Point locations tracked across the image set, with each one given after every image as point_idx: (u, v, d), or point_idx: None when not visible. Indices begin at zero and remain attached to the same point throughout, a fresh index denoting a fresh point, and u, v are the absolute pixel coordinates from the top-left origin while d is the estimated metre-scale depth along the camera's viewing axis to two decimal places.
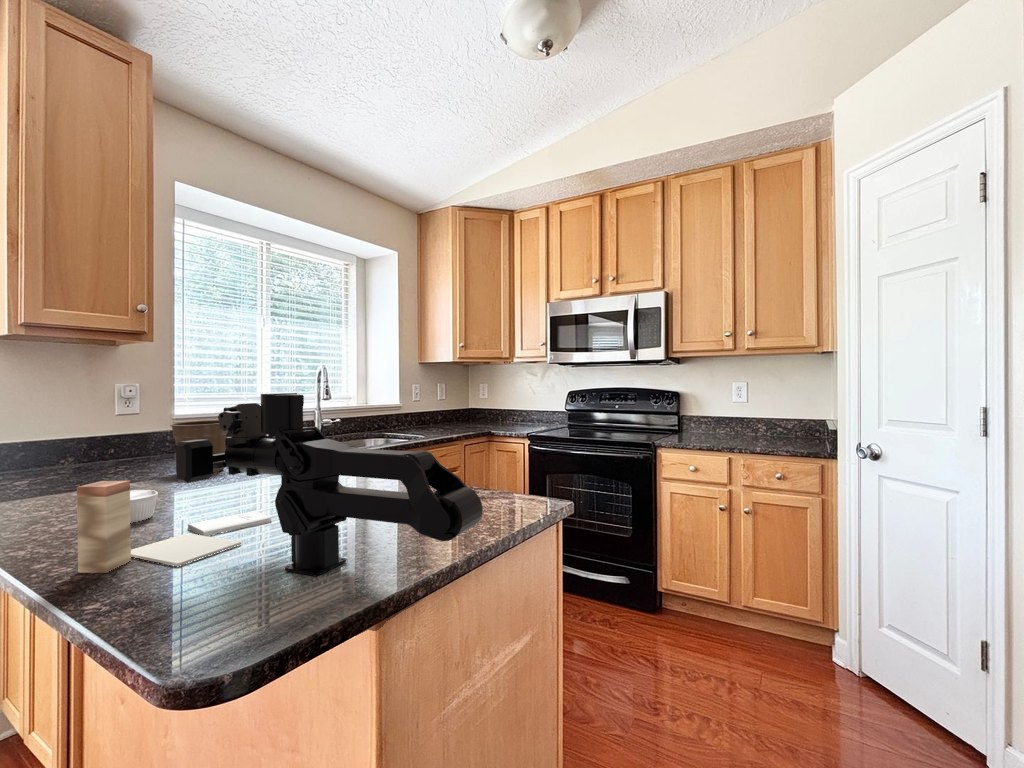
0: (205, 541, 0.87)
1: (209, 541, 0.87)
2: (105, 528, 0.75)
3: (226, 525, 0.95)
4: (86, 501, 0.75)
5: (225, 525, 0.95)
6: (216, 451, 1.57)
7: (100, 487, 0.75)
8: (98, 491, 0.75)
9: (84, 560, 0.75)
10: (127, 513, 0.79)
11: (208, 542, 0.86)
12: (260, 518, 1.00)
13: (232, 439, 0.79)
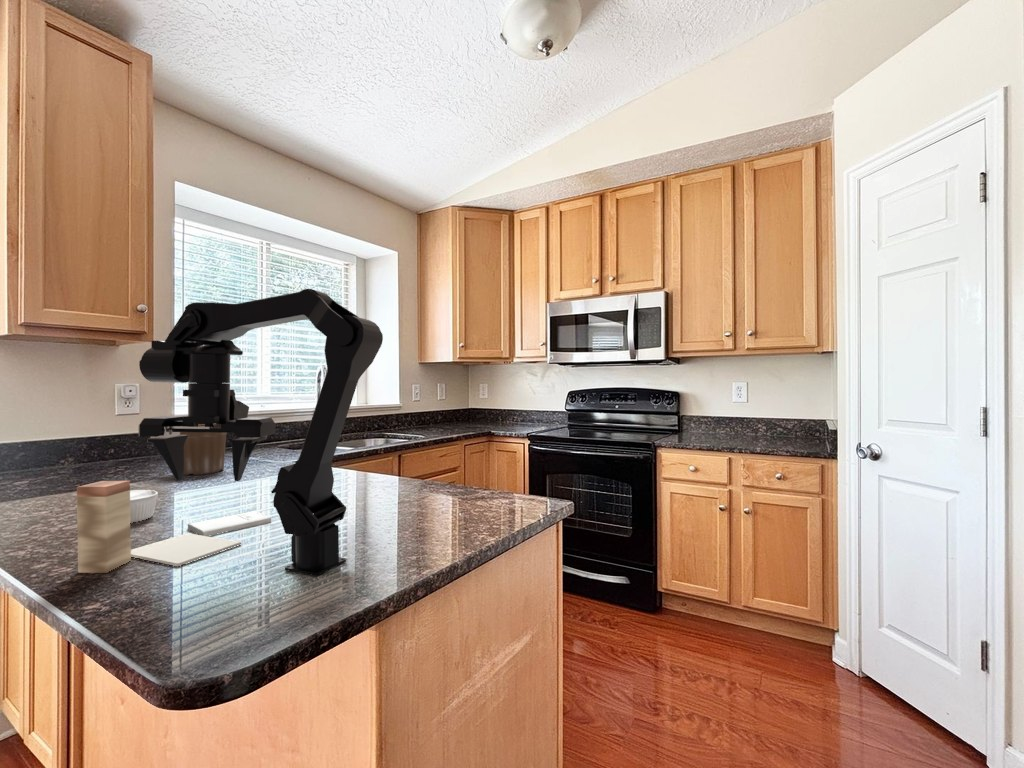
0: (205, 541, 0.87)
1: (209, 541, 0.87)
2: (105, 528, 0.75)
3: (226, 525, 0.95)
4: (86, 501, 0.75)
5: (225, 525, 0.95)
6: (216, 451, 1.57)
7: (100, 487, 0.75)
8: (98, 491, 0.75)
9: (84, 560, 0.75)
10: (127, 513, 0.79)
11: (208, 542, 0.86)
12: (260, 518, 1.00)
13: None
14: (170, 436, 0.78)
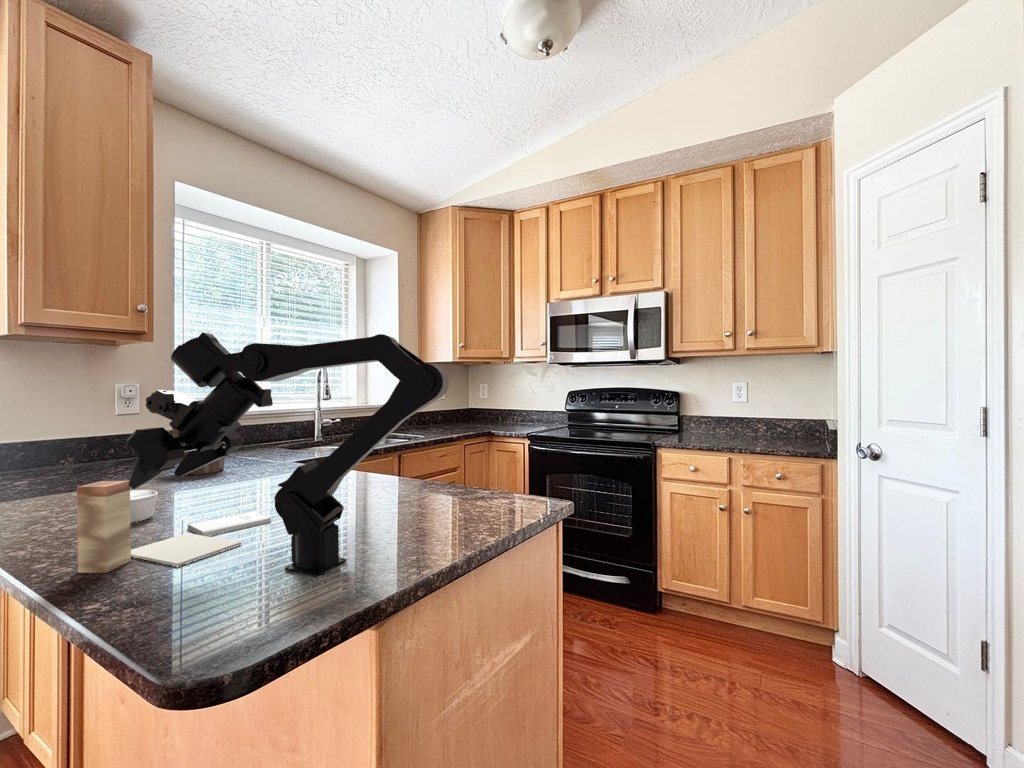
0: (205, 541, 0.87)
1: (209, 541, 0.87)
2: (105, 528, 0.75)
3: (226, 525, 0.95)
4: (86, 501, 0.75)
5: (225, 525, 0.95)
6: None
7: (100, 487, 0.75)
8: (98, 491, 0.75)
9: (84, 560, 0.75)
10: (127, 513, 0.79)
11: (208, 542, 0.86)
12: (260, 518, 1.00)
13: (177, 417, 0.74)
14: None
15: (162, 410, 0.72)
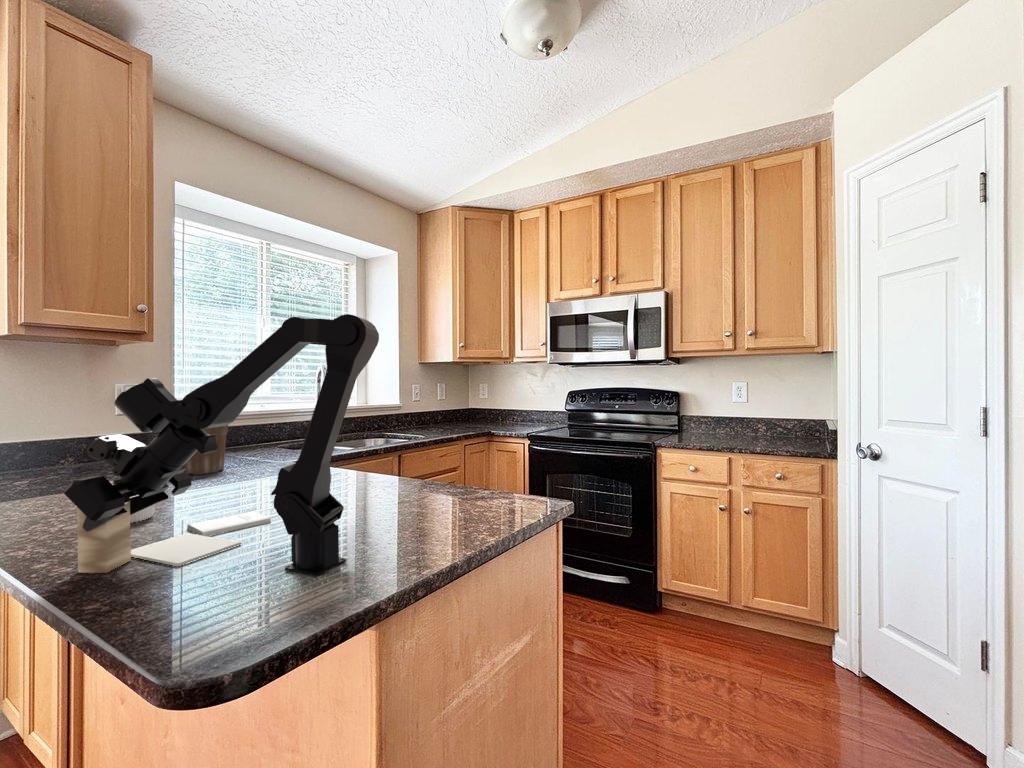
0: (205, 541, 0.87)
1: (209, 541, 0.87)
2: (105, 528, 0.75)
3: (225, 525, 0.95)
4: None
5: (224, 525, 0.95)
6: (216, 451, 1.58)
7: None
8: None
9: (84, 560, 0.75)
10: (127, 513, 0.79)
11: (208, 542, 0.86)
12: (259, 518, 1.00)
13: (119, 463, 0.74)
14: None
15: (103, 457, 0.73)
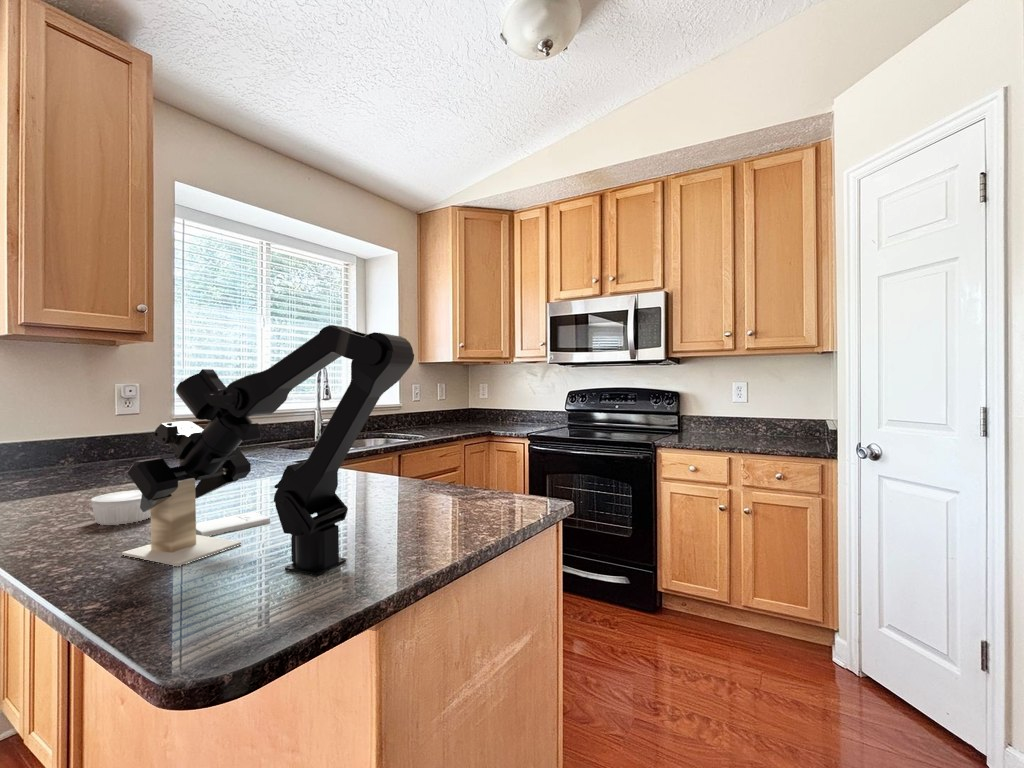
0: (205, 541, 0.87)
1: (209, 541, 0.87)
2: (170, 512, 0.81)
3: (224, 526, 0.95)
4: None
5: (223, 526, 0.95)
6: None
7: None
8: None
9: (155, 540, 0.82)
10: (193, 499, 0.85)
11: (208, 542, 0.86)
12: (259, 519, 1.00)
13: (179, 447, 0.80)
14: None
15: (165, 442, 0.79)
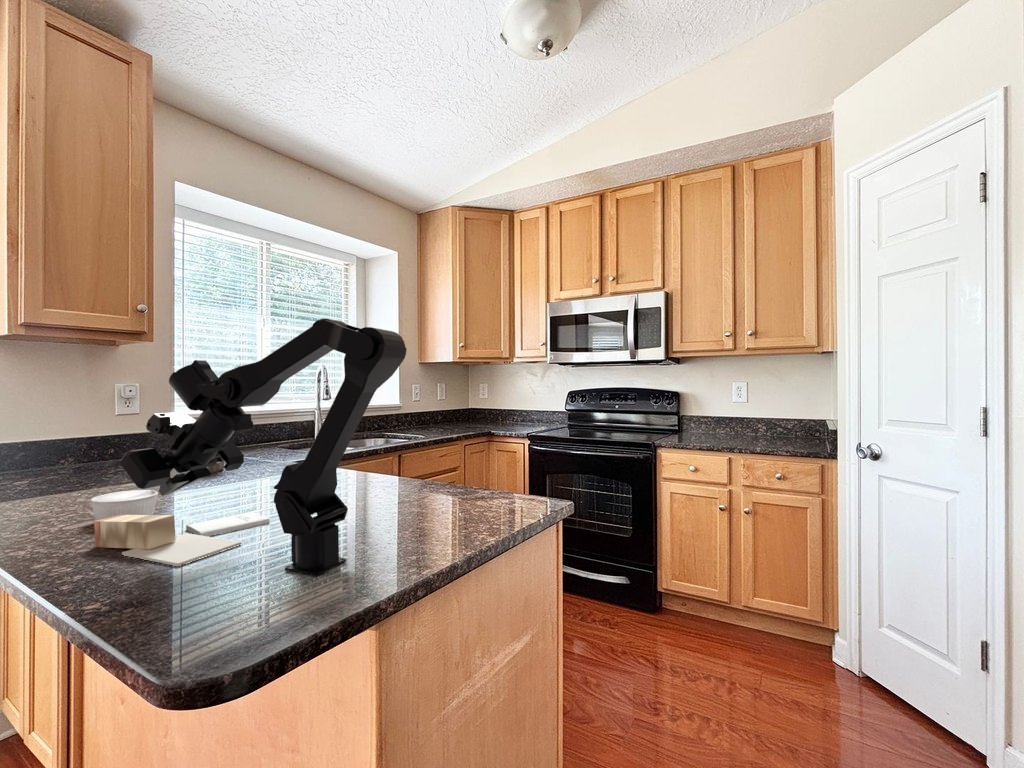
0: (205, 541, 0.87)
1: (209, 541, 0.87)
2: (120, 522, 0.85)
3: (224, 526, 0.95)
4: (103, 538, 0.86)
5: (223, 526, 0.95)
6: None
7: (95, 526, 0.87)
8: (97, 527, 0.86)
9: (142, 542, 0.83)
10: (139, 515, 0.89)
11: (208, 542, 0.86)
12: (258, 519, 1.00)
13: (171, 438, 0.80)
14: None
15: (157, 432, 0.79)
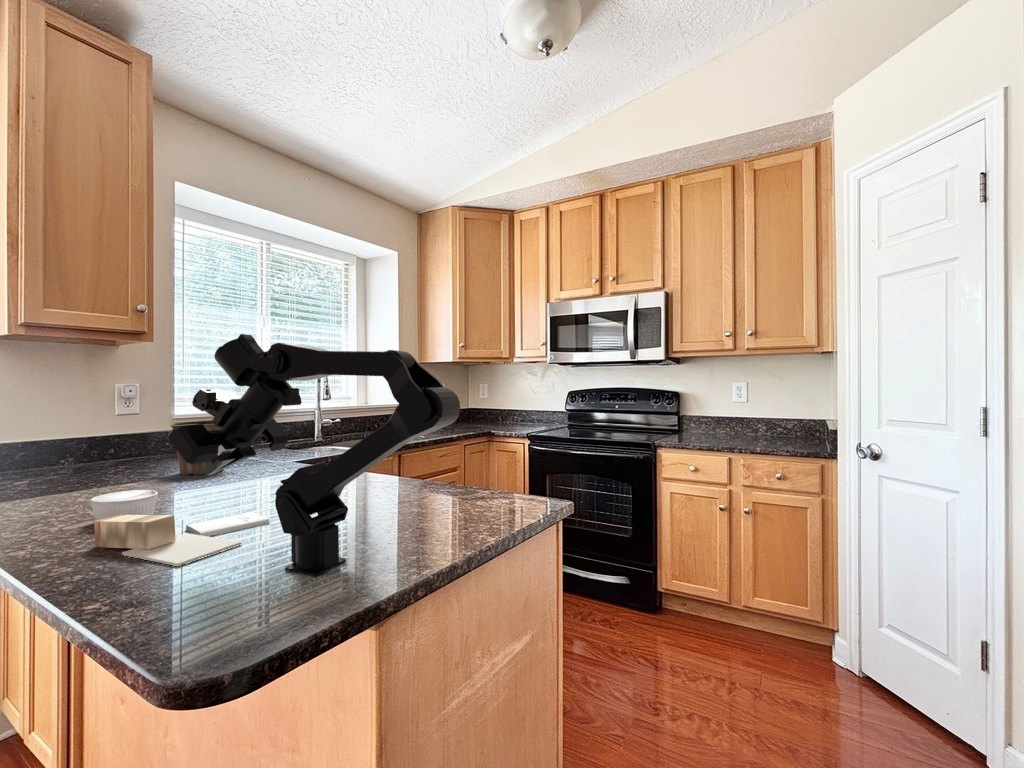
0: (205, 541, 0.87)
1: (209, 541, 0.87)
2: (120, 522, 0.85)
3: (223, 526, 0.95)
4: (103, 538, 0.86)
5: (222, 526, 0.95)
6: None
7: (95, 526, 0.87)
8: (97, 527, 0.86)
9: (142, 542, 0.83)
10: (139, 515, 0.89)
11: (208, 542, 0.86)
12: (258, 519, 0.99)
13: (218, 414, 0.78)
14: None
15: (204, 408, 0.77)
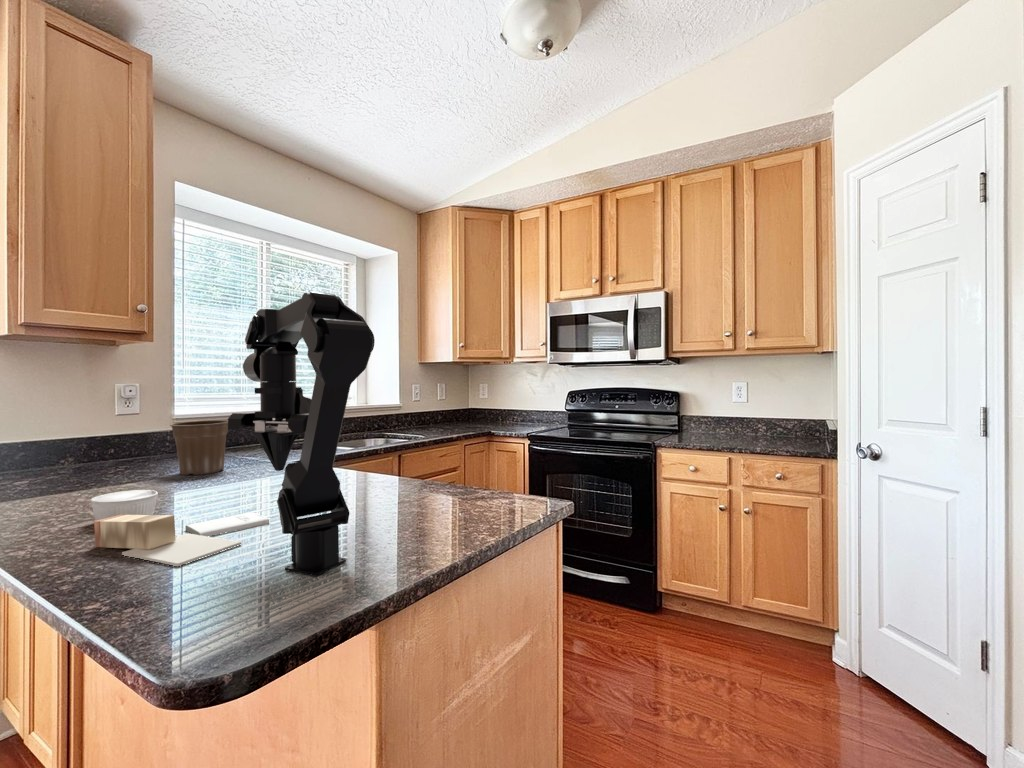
0: (205, 541, 0.87)
1: (209, 541, 0.87)
2: (120, 522, 0.85)
3: (223, 526, 0.94)
4: (103, 538, 0.86)
5: (222, 526, 0.94)
6: (216, 451, 1.57)
7: (95, 526, 0.87)
8: (97, 527, 0.86)
9: (142, 542, 0.83)
10: (139, 515, 0.89)
11: (208, 542, 0.86)
12: (258, 519, 0.99)
13: None
14: (269, 430, 0.87)
15: None
